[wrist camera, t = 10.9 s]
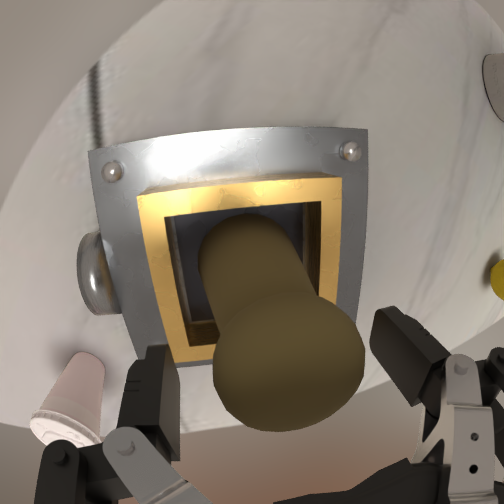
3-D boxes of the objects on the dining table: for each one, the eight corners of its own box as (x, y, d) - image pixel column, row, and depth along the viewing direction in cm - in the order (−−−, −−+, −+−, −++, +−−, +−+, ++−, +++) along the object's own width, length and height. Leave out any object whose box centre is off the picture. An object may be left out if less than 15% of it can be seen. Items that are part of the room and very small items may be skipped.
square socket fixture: (339, 130, 20) (390, 129, 14) (334, 312, 25) (366, 355, 20) (88, 153, 17) (45, 160, 11) (132, 340, 23) (119, 393, 17)
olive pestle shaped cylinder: (229, 194, 16) (283, 284, 6) (311, 242, 18) (422, 352, 8) (180, 280, 17) (170, 435, 7) (261, 316, 19) (314, 456, 9)
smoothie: (51, 340, 22) (-1, 453, 9) (106, 341, 23) (68, 475, 10) (74, 385, 24) (44, 491, 11) (125, 388, 25) (109, 507, 12)
